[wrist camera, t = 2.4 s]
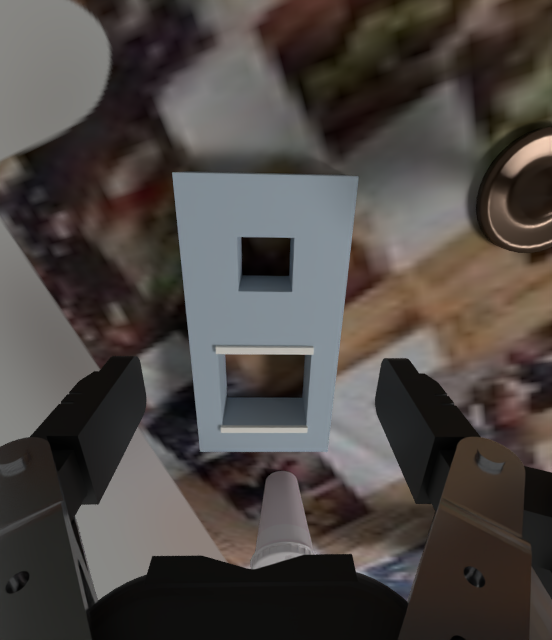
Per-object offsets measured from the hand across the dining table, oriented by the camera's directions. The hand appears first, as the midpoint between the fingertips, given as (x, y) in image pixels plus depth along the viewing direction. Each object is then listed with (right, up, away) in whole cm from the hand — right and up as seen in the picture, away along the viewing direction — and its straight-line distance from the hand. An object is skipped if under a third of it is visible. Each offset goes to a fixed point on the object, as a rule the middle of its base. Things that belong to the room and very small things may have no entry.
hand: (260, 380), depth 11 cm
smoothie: (+1, -17, +28) cm, 33 cm away
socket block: (0, +2, +19) cm, 19 cm away
